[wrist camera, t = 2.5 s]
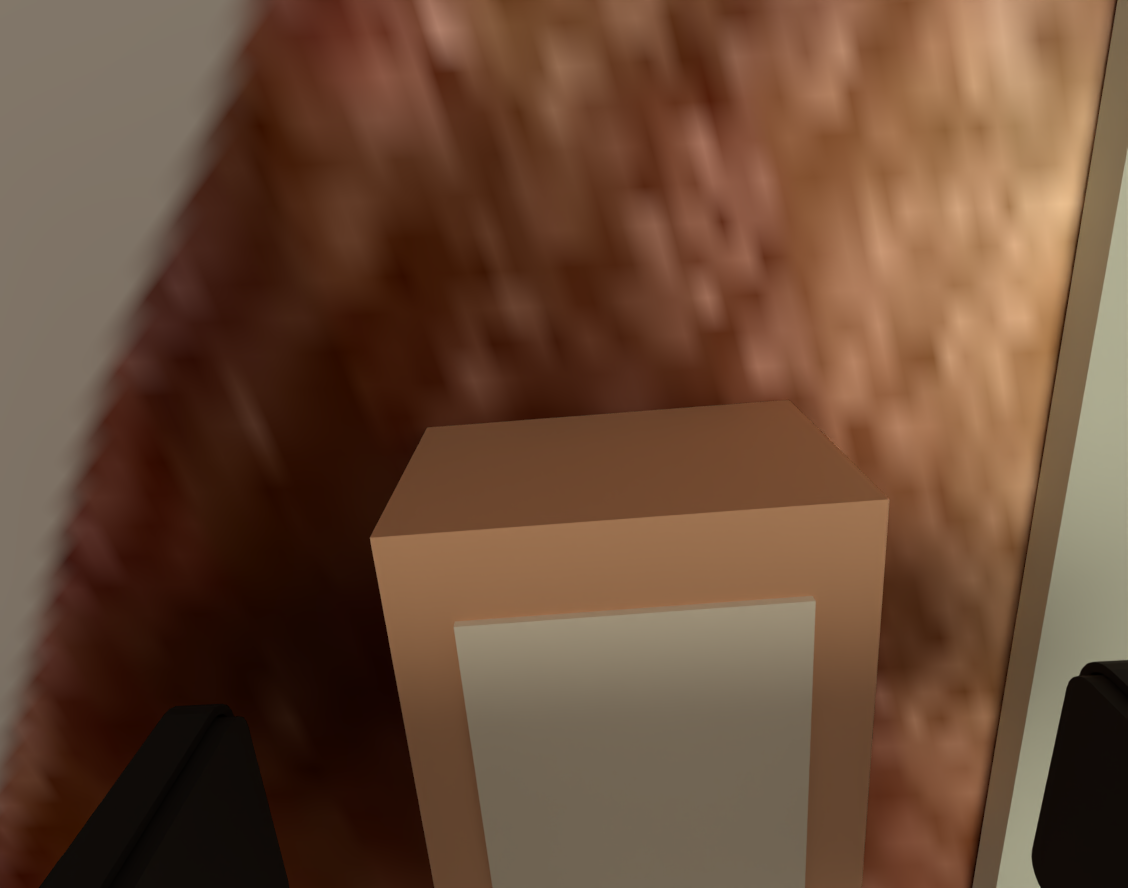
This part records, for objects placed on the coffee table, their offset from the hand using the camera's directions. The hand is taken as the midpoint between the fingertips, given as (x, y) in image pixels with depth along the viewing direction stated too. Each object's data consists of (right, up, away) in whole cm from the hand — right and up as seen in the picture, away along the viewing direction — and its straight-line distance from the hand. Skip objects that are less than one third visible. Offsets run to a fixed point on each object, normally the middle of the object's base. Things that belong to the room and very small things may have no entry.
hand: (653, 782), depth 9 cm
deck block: (0, +1, +3) cm, 3 cm away
